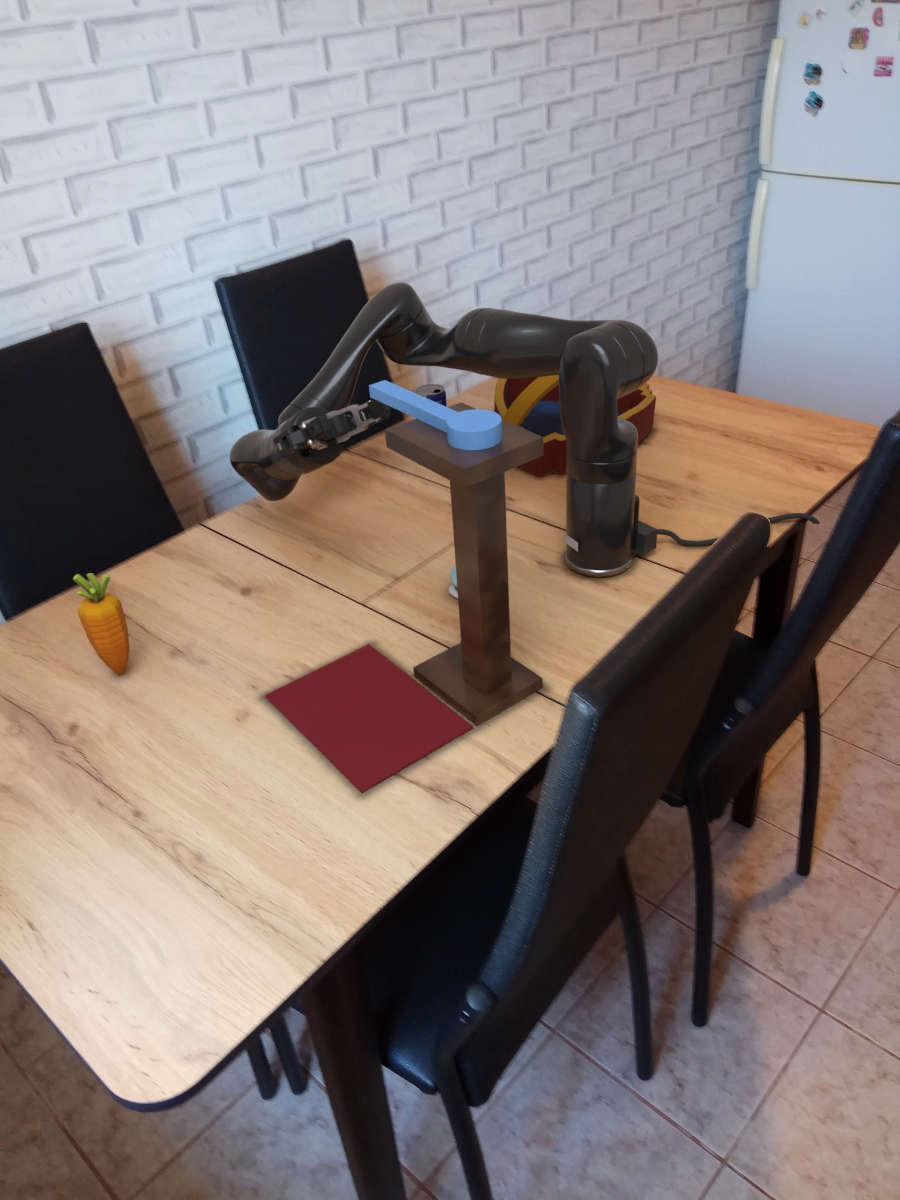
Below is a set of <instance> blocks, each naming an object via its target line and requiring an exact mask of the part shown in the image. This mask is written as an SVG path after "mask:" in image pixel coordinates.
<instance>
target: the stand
mask: <svg viewBox="0 0 900 1200" xmlns="http://www.w3.org/2000/svg"><path fill="white" fill-rule="evenodd" d="M447 407H448V408H450V409H452V410H455V411H457V412H461V411H465V410H473V409H477V408H475V407H474V406H471V405H468V404H466V403H464V402H458V403H455V404H452V405H450V406H447ZM384 435H385V445H386V448H387V449H389V450H390V451H393V452H394V453H396V454H398V455H400V456H402V457H404V458H406V459H408V460H410V461H412V462H413V463H416V464H417V465H420V466H422V467H423V468H425V469H427V470H429V471H431V472H433V473H435V474H437V475H439V476H440V477H443V478H445V479H446V480H448V481H449V489H450V503H451V506H450V507H451V517H452V532H453V533H452V534H453V545H454V547H453V548H454V559H455V567H456V576H457V589H456V591H457V592H458V599H457V602H458V603H457V605H458V617H459V629H460V630H459V632H460V642H459V643H457V644H455V645H453V646H450V647H449V648H447V649H445V650H444V651H441V652H440V653H437V654H435V655H434V656H432V657H430V658H428V659H426V660H425V661H422V662H420V663H419V664H417V665H415V666H413V667H412V669H413V677H414V678H415V679H416V680H417V681H418V682H420V683H421V684H422V685H424V686H425V687H426V688H428V689H429V690H431V691H432V692H433V693H434V694H435V695H437V696H438V697H439V698H440V699H442V700H443V701H444V702H446V703H447V704H448V705H450V706H451V707H452V708H454V710H455V711H457V712H458V713H459V714H461V715H462V716H464V717H465V718H466V719H467V720H469V722H471V723H472V724H474V725H475V726H476V727H478V726H480V725H482V724H483V723H485V722H486V721H488V720H490V719H492V718H493V717H495V716H498V714H500V713H502V712H505V710H507V709H509V708H511V707H512V706H514V705H515V704H517V703H519V702H521V701H523V700H524V699H526V698H527V697H529V696H531V695H533V694H535V693H537V692H538V691H540V690H542V689H543V677H542V676H540V675H538V674H537V673H536V672H534V671H533V670H531V669H530V668H529V667H526V665H524V664H522V663H521V662H520V661H518V660H516V659H515V658H514V657H512V653H511V652H512V650H511V622H510V621H511V620H510V619H511V618H510V592H509V591H510V588H509V587H510V586H509V564H508V563H509V562H508V561H509V560H508V534H507V533H508V532H507V531H508V529H507V504H506V502H507V500H506V477H505V475H506V473H505V472H508V471H510V470H512V469H514V468H517V467H520V465H522V464H524V463H527V462H529V461H531V460H534V459H536V458H539V457H541V456H543V437H542V436H539V435H537V434H535V433H532V432H530V431H528V430H525V429H523V428H520V427H518V426H516V425H513V424H511V423H509V422H506V421H504V420H502V440H501V442H500V443H499V444H497V445H496V446H493V447H491V448H488V449H483V450H473V451H471V450H461V449H457V448H454V447H452V446H451V445H450V444H449V443H448V439H447V433H446V432H444V431H442V430H439V429H437V428H435V427H433V426H431V425H429V424H427V423H424V422H422V421H420V420H418V419H416V418H414V419H411V420H408V421H405V422H403V423H399V424H397V425H394V426H391V427H389V428H386V429H384Z"/></svg>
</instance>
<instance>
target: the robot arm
mask: <svg viewBox="0 0 900 1200" xmlns="http://www.w3.org/2000/svg"><path fill="white" fill-rule="evenodd" d="M375 342H376V343H377V345H378V346H379V348H380V349H381V351H382V352H383V354H384V355H385V356H386V358H388V359H389V360H390V361H391V362H393V363H395V364H398V365H403V366H412V367H413V366H414V367H415V366H416V367H437V368H444V369H445V368H446V369H452V370H459V371H465V372H469V373H473V374H477V375H481V376H487V377H492V378H496V379H498V378H503V379H524V378H534V377H543V376H551V375H558V380H559V399H560V418H561V425H562V429H563V432H564V435H565V437H566V442H567V454H566V472H565V473H566V475H565V477H566V479H565V480H566V481H565V486H566V487H565V488H566V489H565V492H566V493H565V494H566V495H565V496H566V497H565V551H564V561H565V564H566V566H567V567H568V568H569V569H571V570H572V571H573V572H575V573H577V574H578V575H579V574H580V575H583V576H586V577H595V578H605V577H606V578H607V577H612V576H616V575H620V574H622V573H624V572H625V571H627V570H629V568H630V567H631V565H632V564H633V559H634V558H636V557H637V554H638V553H637V552H639V553H641V554H642V555H645V554H648V553H649V552H651V551H654V550H655V549H656V548H657V542H658V541H657V539H658V535H661V536H667V537H670V538H672V539H673V540H674V541H675V542H676V543H677V544H678V545H681V546H686V547H696V548H697V547H707V546H712V544H713V543H714V542H715V541H716V540H717V539H718V538H719V537H716V538H711V539H705V540H690V539H689V540H688V539H683V538H681V537H680V536H679V535H678V534H677V533H675V532H674V531H672V530H669V529H664V528H656V527H654V526H652V525H650V524H647V523H646V522H643V521H642V520H639V516H640V501H641V500H640V496H639V495H638V494H636V483H637V462H638V448H639V447H638V446H639V442H638V432H637V429H636V427H635V426H634V425H633V424H632V423H631V422H629V421H627V420H624V419H622V418H618V417H617V399H619V398H621V397H623V396H625V395H628V394H630V393H632V392H634V391H636V390H638V389H639V388H640V387H642V386H643V385H644V384H645V383H646V384H648V382H649V381H650V380H651V379H652V377H653V375H654V374H655V372H656V371H657V367H658V364H659V353H658V352H659V351H658V348H657V345H656V343H655V341H654V339H653V338H652V336H651V335H650V334H649V333H648V331H646V330H645V329H644V328H643V327H641V326H640V325H638V324H637V323H635V322H633V321H629V320H626V319H602V320H601V319H600V320H599V319H598V320H597V319H595V320H593V319H591V320H577V319H575V320H574V319H564V318H559V317H553V316H548V315H541V314H533V313H528V312H527V313H526V312H519V311H514V310H510V309H509V310H508V309H502V308H501V309H500V308H493V307H478V308H474V309H472V310H470V311H468V312H466V313H464V314H463V315H462V316H461V317H460V318H459V319H458V320H456V322H455V323H454V324H453V325H452V326H451V328H450V327H444V326H440V325H439V324H437V323H436V322H435V321H434V320H433V318H432V317H431V316H430V313H429V312H428V310H427V308H426V306H425V305H424V303H423V301H422V300H421V298H420V297H419V295H418V293H417V291H416V290H415V289H414V287H413V286H412V285H411V284H409V283H407V282H394V283H391V284H389V285H386V286H384V287H383V288H381V289H379V290H378V291H377V292H376V293H375V294H374V295H373V296H371V298H370V299H369V300H368V301H367V302H366V303H365V305H364V306H363V307H362V309H361V310H360V311H359V313H358V314H357V316H356V317H355V319H354V320H353V322H352V323H351V324H350V325H349V327H348V329H347V330H346V331H345V333H344V335H343V336H342V338H341V339H340V341H339V342H338V343H337V345H336V347H335V348H334V349H333V351H332V353H331V355H329V357H328V359H327V360H326V361H325V363H324V365H322V368H321V369H319V371H318V372H317V374H316V375H315V376H314V377H313V379H312V380H311V381H310V382H309V383H308V384H307V385H306V387H305V388H304V389H302V391H300V393H299V394H298V395H297V396H296V397H295V398H294V399H293V400H292V401H291V402H290V403H289V404H288V405H287V406H286V407H285V408H284V409H283V411H282V412H281V413H280V414H279V416H278V420H277V422H278V427H276V428H275V429H266V428H265V429H256V430H252V431H249V432H248V433H245V434H244V435H242V436H241V437H239V438H238V439H236V441H235V442H234V444H233V445H232V447H231V449H230V451H229V462H230V463H229V464H230V465H231V467H232V468H233V470H234V471H235V472H236V473H237V474H238V475H239V476H240V477H242V479H243V480H245V482H246V483H248V484H249V485H250V487H252V488H253V489H254V490H255V491H256V492H257V493H258V494H259V495H260V496H261V497H262V498H263V499H265V500H266V501H269V502H278V501H281V500H284V499H285V498H287V497H288V496H289V495H291V493H293V490H294V489H295V488H296V486H297V485H298V482H299V480H300V478H301V476H302V475H305V474H311V473H312V472H314V471H317V470H318V469H321V468H322V467H324V466H327V465H329V464H331V463H332V462H334V461H335V460H337V459H338V458H339V457H340V455H341V454H342V452H343V450H344V447H345V442H346V441H349V440H350V438H351V437H353V436H355V435H357V434H359V433H362V432H364V431H367V430H368V429H371V428H372V426H374V425H376V424H377V423H380V422H381V421H383V420H387V419H389V418H390V417H391V416H392V414H391V411H392V407H390V406H388V405H386V404H384V403H382V402H379V401H377V400H375V399H373V398H372V399H370V400H368V401H367V402H365V403H363V404H361V405H359V404H358V403H355V404H351V403H352V399H353V397H354V394H355V390H356V386H357V382H358V379H359V375H360V372H361V369H362V366H363V363H364V361H365V358H366V356H367V354H368V352H369V351H370V349H371V347H372V345H373V344H374V343H375ZM349 412H350V413H351V414H348V413H349ZM767 518H768V519H769V520H770V522H771V523H770V524H772V523H776V522H781V521H787V520H792V519H803V520H806V521H809V522H811V523H812V524H814V525H819V524H820V523H821V522H820V521H819V520H818V519H817V518H816V517H814V516H812V515H811V514H808V513H804V512H791V513H784V514H781V515H775V516H771V517H767ZM713 545H714V544H713Z"/></svg>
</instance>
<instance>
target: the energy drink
mask: <svg viewBox="0 0 900 1200" xmlns="http://www.w3.org/2000/svg"><path fill="white" fill-rule="evenodd" d="M414 393H416V394H418V395H420V396H423V397H425V398H427V399H430V400H432V401H434V402H436V403H439V404H441V405H443V406H446V407H448V402H447V391H446V389H445V387H444V386H443V385H442V384H437V383H427V384H422V385H420V386H417V387H416V388H415V392H414Z"/></svg>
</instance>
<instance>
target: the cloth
mask: <svg viewBox="0 0 900 1200" xmlns="http://www.w3.org/2000/svg"><path fill="white" fill-rule="evenodd" d="M264 697H265V698H266V699H267V700H268V701H269V702H270V703H271V705H273V706H274V707H275V708H276V710H278V711H279V712H280V713H281V714H282V715H283V716H284V717H285V718H286V719H287V720H288V721H289V723H291V724H292V725H293V726H294V727H295V728H296V729H297V730H298V731H299V733H301V734H302V735H303V736H304V737H305V738H306V740H307V741H309V742H310V743H311V745H313V746H314V747H315V748H316V749H317V750H318V751H319V753H321V754H322V755H323V756H324V757H325V758H326V759H327V760H328V761H329V762H330V763H331V764H332V765H333V766H334V767H335V768H336V769H337V770H338V771H339V773H341V774H342V776H344V777H345V778H346V779H347V780H348V781H349V782H350V783H351V784H352V785H353V786H354V787H355V789H357V790H358V791H359V792H360V793H361V794H363V793H365V792H367V791H369V790H370V789H372V788H373V787H376V786H377V785H379V784H381V783H382V782H384V781H386V780H387V779H389V778H391V777H392V776H394V775H396V774H398V773H400V772H401V771H403V770H404V769H406V768H408V767H409V766H411V765H413V764H415V763H416V762H418V761H420V760H422V759H423V758H425V757H427V756H429V755H430V754H432V753H433V752H436V751H437V750H439V749H441V748H442V747H444V746H446V745H447V744H449V743H451V742H452V741H454V740H456V739H458V738H459V737H461V736H463V735H464V734H466V733H468V732H470V731H471V730H473V729H474V726H473V725H472V724H471V723H469V722H468V721H467V720H466V719H465V718H463V717H462V716H460V715H459V714H458V713H457V712H456V711H454V710H453V709H452V708H451V707H450V706H449V705H447V704H446V703H444V702H443V701H442V700H440V699H439V698H438V697H437V696H436V695H434V694H433V693H432V692H430V691H429V690H428V689H427V688H425V687H424V686H423V685H422V684H421V683H419V681H417V680H415V679H414V678H413V677H411V675H409V674H408V673H406V672H405V671H404V670H403V669H401V668H400V667H399V666H398V665H396V664H395V663H394V662H393V661H391V660H390V659H389V658H388V657H386V656H385V655H384V654H382V653H381V651H379V650H378V649H376V648H375V647H374V646H372V645H371V644H370V643H368V644H366V645H364V646H362V647H359V648H358V649H356V650H354V651H351V652H350V653H348V654H346V655H344V656H342V657H340V658H337V659H336V660H334V661H332V662H330V663H328V664H325V665H323V666H322V667H319V668H317V669H315V670H314V671H311V672H309V673H307V674H305V675H303V676H301V677H299V678H298V679H295V680H293V681H291V682H289V683H287V684H284V685H282V686H281V687H279V688H277V689H275V690H273V691H271V692H269V693H266V694H265V695H264Z"/></svg>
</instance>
